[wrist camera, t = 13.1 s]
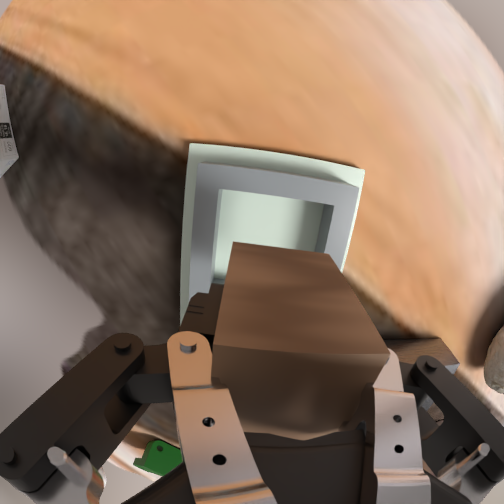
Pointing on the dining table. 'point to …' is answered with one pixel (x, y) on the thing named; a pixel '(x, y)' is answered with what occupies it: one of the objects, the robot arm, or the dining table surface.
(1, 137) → the light bulb box
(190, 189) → the gray compartment tray
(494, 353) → the decorative shell
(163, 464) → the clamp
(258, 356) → the walnut billet
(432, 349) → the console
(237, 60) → the dining table surface
